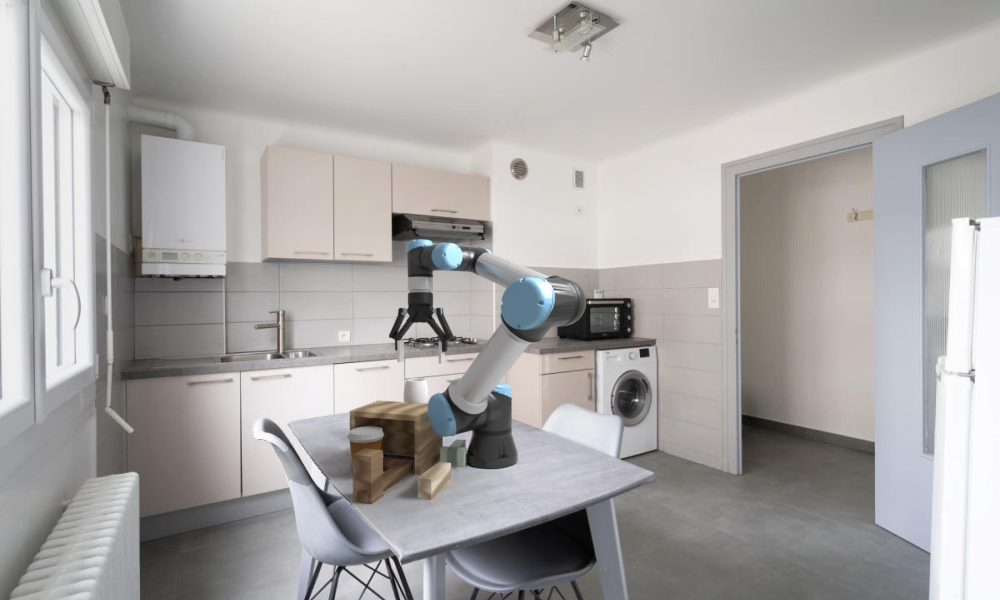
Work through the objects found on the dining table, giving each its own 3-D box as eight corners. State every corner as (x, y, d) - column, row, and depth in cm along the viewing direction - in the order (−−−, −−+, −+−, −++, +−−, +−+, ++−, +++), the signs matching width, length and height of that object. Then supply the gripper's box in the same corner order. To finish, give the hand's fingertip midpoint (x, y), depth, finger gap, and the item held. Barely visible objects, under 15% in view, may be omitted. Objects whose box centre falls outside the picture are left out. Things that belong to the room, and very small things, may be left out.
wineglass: (417, 448, 155) (417, 382, 155) (397, 444, 160) (397, 380, 160) (434, 441, 162) (434, 378, 162) (415, 437, 167) (415, 376, 167)
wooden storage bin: (442, 457, 145) (442, 404, 145) (419, 474, 131) (419, 415, 131) (378, 451, 152) (378, 400, 152) (350, 467, 137) (349, 410, 137)
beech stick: (451, 482, 126) (450, 463, 126) (431, 500, 114) (431, 479, 114) (438, 480, 127) (438, 461, 127) (417, 498, 115) (417, 477, 115)
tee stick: (472, 456, 146) (472, 440, 146) (463, 467, 136) (463, 450, 136) (449, 455, 147) (449, 439, 147) (440, 466, 138) (439, 448, 138)
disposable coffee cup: (374, 482, 126) (374, 436, 126) (341, 479, 127) (340, 434, 128) (390, 469, 135) (389, 426, 135) (358, 467, 137) (358, 425, 137)
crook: (417, 471, 133) (417, 431, 133) (371, 504, 112) (371, 456, 112) (367, 466, 138) (367, 427, 138) (314, 495, 117) (314, 450, 117)
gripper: (463, 291, 145) (464, 362, 145) (390, 292, 152) (390, 359, 152) (454, 290, 138) (454, 365, 138) (377, 292, 145) (377, 362, 145)
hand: (420, 362), depth 145 cm, fingers open, 13 cm apart
